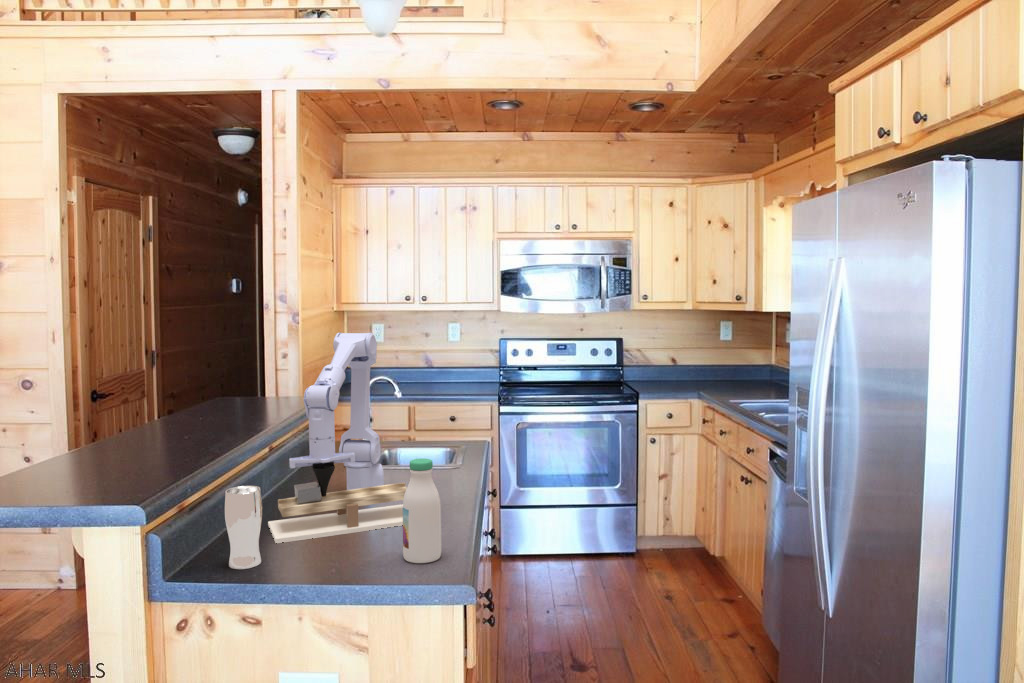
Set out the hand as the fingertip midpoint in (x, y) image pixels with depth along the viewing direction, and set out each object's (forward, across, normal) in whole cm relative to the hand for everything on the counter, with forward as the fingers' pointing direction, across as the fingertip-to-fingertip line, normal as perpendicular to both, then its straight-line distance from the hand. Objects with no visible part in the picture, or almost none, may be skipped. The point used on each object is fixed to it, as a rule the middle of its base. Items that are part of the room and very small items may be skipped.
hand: (323, 495), depth 168 cm
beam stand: (+7, +5, 0) cm, 9 cm away
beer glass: (+8, -19, -17) cm, 26 cm away
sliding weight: (+1, -3, 0) cm, 4 cm away
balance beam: (+2, +5, 0) cm, 6 cm away
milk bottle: (+8, +14, -29) cm, 33 cm away
